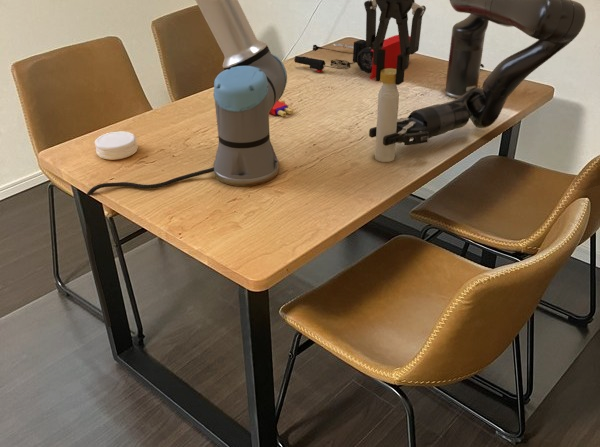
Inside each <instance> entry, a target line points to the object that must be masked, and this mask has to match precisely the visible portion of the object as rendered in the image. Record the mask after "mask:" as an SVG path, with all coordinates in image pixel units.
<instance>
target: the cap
mask: <svg viewBox="0 0 600 447" xmlns="http://www.w3.org/2000/svg"><path fill="white" fill-rule="evenodd" d="M396 70H397V68H395V69H392V68H387V69H383V70H381V73H380V81H379V82H381V83H382V84H383V83H386V84H395V83H396Z"/></svg>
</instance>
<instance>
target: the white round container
mask: <svg viewBox="0 0 600 447" xmlns="http://www.w3.org/2000/svg"><path fill="white" fill-rule="evenodd" d="M94 146H95V152H96V155H97V156H98V157H100V158H101V159H104V160H110V161H111V160H114V161H115V160H116V161H117V160H122V159H126V158H128V157H130V156H133V155H134V154H135V153H136V152H137V151H138V147H139V146H138V141H137V137H136V135H135V134H133V133H132V132H129V131H124V130H123V131H121V130H119V131H110V132H107V133H103V134H102V135H99V136H98V137H97V138H96V139H95V140H94Z"/></svg>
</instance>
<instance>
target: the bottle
mask: <svg viewBox="0 0 600 447" xmlns="http://www.w3.org/2000/svg"><path fill="white" fill-rule="evenodd" d="M399 101H400V92H399V89H398V85H396V83H395V84H386V83H382V85H381V86H380V89H379V91H378V94H377V110H376V112H377V114H376V127H377V128H376V137H375V145H374V146H375V149H374V159H375V160H376V161H378V162H380V163H390V162H392V161H394V160H395V157H396V156H395V155H396V143H394V144H391V145H387V146H385V145H384V144H383V138H384V136H387V135H390V134H394V133H396V130H397V119H398V115H399Z"/></svg>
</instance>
